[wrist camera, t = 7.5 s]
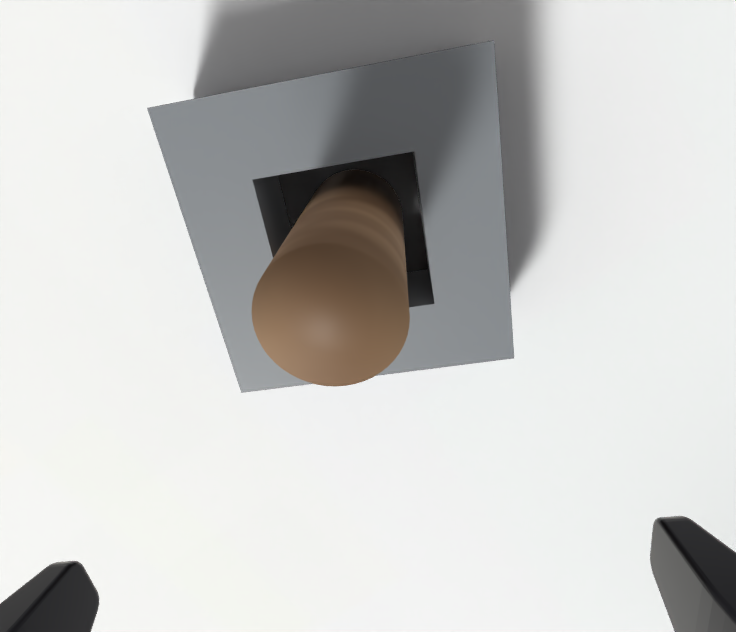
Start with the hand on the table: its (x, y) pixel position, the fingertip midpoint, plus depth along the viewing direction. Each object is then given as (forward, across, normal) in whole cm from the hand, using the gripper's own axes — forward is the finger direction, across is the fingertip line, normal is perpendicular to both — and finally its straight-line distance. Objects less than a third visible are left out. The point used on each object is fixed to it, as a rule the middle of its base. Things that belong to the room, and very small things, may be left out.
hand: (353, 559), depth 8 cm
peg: (+12, 0, -2) cm, 12 cm away
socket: (+12, 0, -2) cm, 12 cm away
